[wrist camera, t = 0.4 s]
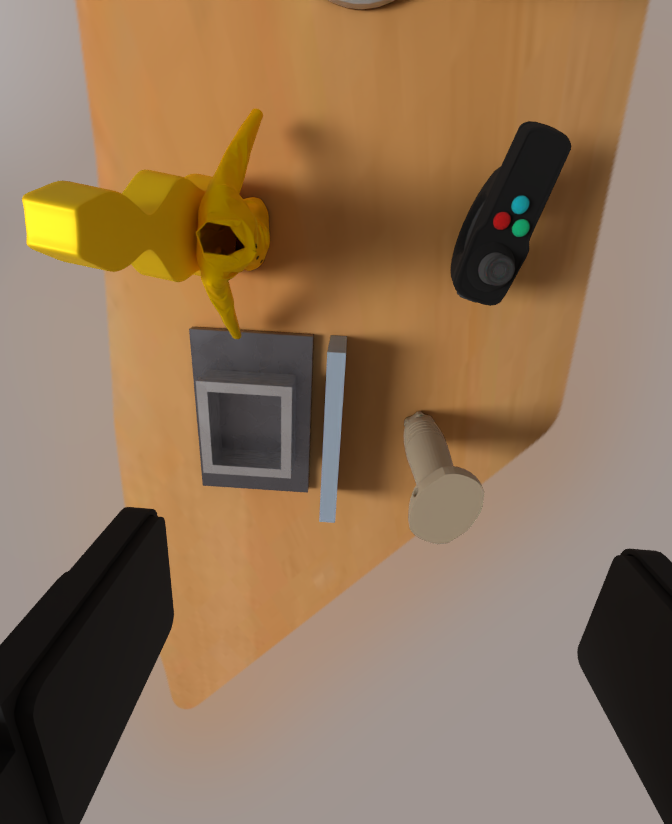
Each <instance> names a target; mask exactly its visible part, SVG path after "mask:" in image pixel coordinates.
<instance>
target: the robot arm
mask: <svg viewBox="0 0 672 824" xmlns="http://www.w3.org/2000/svg"><path fill="white" fill-rule="evenodd" d="M328 1H330V2H332V3H335V4H338V5H340V6H343V7H346V8H354V9H369V8H376V7H380V6H383V5H385V4H388V3H390V2H393V1H395V0H328ZM173 618H174V609H173V599H172V588H171V578H170V567H169V557H168V546H167V536H166V526H165V520H164V518H163V517H158V516H157V512H156V511H155V510H154V509H146V508H134V507H125V508H123V509H122V510H121V511H120V512H119V514H118V515H117V516H116V517H115V518H114V519H113V521H112V522H111V523H110V524H109V525H108V526H107V528H106V529H105V530H104V531H103V532H102V533H101V534H100V536H99V537H98V538H97V539H96V540H95V541H94V543H93V544H92V545H91V546H90V547H89V548H88V549H87V551H86V552H85V553H84V554H83V555H82V556H81V558H80V559H79V560H78V561H77V562H76V563H75V565H74V566H73V567H72V568H71V569H70V570H69V571H68V572H66V573H64V574H63V575H62V576H61V577H60V578H59V579H57V581H56V582H55V583H54V584H53V585H52V586H51V587H50V589H49V590H48V591H47V592H46V593H45V594H44V595H43V597H42V598H41V599H40V600H39V601H38V602H37V603H36V605H35V606H34V607H33V608H32V609H31V610H30V611H29V613H28V614H27V615H26V616H25V617H24V619H23V620H22V621H21V622H20V623H19V624H18V626H16V628H15V629H14V630H13V631H12V632H11V633H10V634H9V636H8V637H7V638H6V639H5V640H4V642H2V644H1V645H0V824H80V822H81V820H82V818H83V816H84V814H85V812H86V810H87V808H88V805H89V803H90V801H91V799H92V797H93V795H94V793H95V791H96V788H97V786H98V784H99V782H100V780H101V778H102V776H103V774H104V771H105V769H106V767H107V765H108V763H109V761H110V759H111V756H112V754H113V752H114V750H115V748H116V746H117V744H118V741H119V739H120V737H121V735H122V733H123V731H124V729H125V726H126V724H127V722H128V720H129V718H130V716H131V714H132V712H133V709H134V707H135V705H136V703H137V701H138V699H139V696H140V695H141V692H142V690H143V688H144V686H145V684H146V682H147V680H148V677H149V675H150V673H151V671H152V669H153V667H154V665H155V663H156V660H157V658H158V656H159V654H160V652H161V650H162V648H163V646H164V643H165V641H166V639H167V637H168V635H169V633H170V630H171V627H172V624H173ZM578 660H579V664H580V666H581V668H582V670H583V672H584V674H585V676H586V678H587V680H588V682H589V683H590V685H591V687H592V689H593V691H594V693H595V695H596V697H597V699H598V700H599V702H600V704H601V706H602V708H603V710H604V712H605V714H606V715H607V717H608V719H609V721H610V723H611V725H612V726H613V728H614V730H615V732H616V734H617V736H618V738H619V740H620V742H621V744H622V745H623V747H624V749H625V751H626V753H627V755H628V757H629V759H630V760H631V762H632V764H633V766H634V768H635V770H636V772H637V773H638V775H639V777H640V779H641V781H642V783H643V785H644V787H645V788H646V790H647V792H648V794H649V796H650V798H651V800H652V801H653V803H654V805H655V807H656V809H657V811H658V813H659V815H660V816H661V818H662V820H663V822H664V824H672V562H671V561H670V560H669V559H668V558H667V557H666V556H665V555H663V554H662V553H661V552H657V551H651V550H639V549H625V550H624V551H623V552H622V553H621V555H618V556H616V557H615V558H614V559H613V561H612V564H611V566H610V569H609V571H608V574H607V576H606V579H605V581H604V584H603V586H602V589H601V591H600V594H599V596H598V599H597V601H596V604H595V606H594V609H593V611H592V614H591V616H590V619H589V621H588V624H587V626H586V629H585V631H584V634H583V636H582V639H581V641H580V644H579V646H578Z"/></svg>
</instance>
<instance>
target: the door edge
mask: <svg viewBox="0 0 672 824" xmlns="http://www.w3.org/2000/svg"><path fill="white" fill-rule="evenodd" d="M346 346H347V336H334V335H331V337H330V342H329V347H328V352H327V372H326V393H325V414H324V435H323V457H322V478H321V499H320V520H319V522H332V523H335V514H336V499H337V484H338V468H339V453H340V438H341V423H342V408H343V392H344V377H345V362H346Z"/></svg>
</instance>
